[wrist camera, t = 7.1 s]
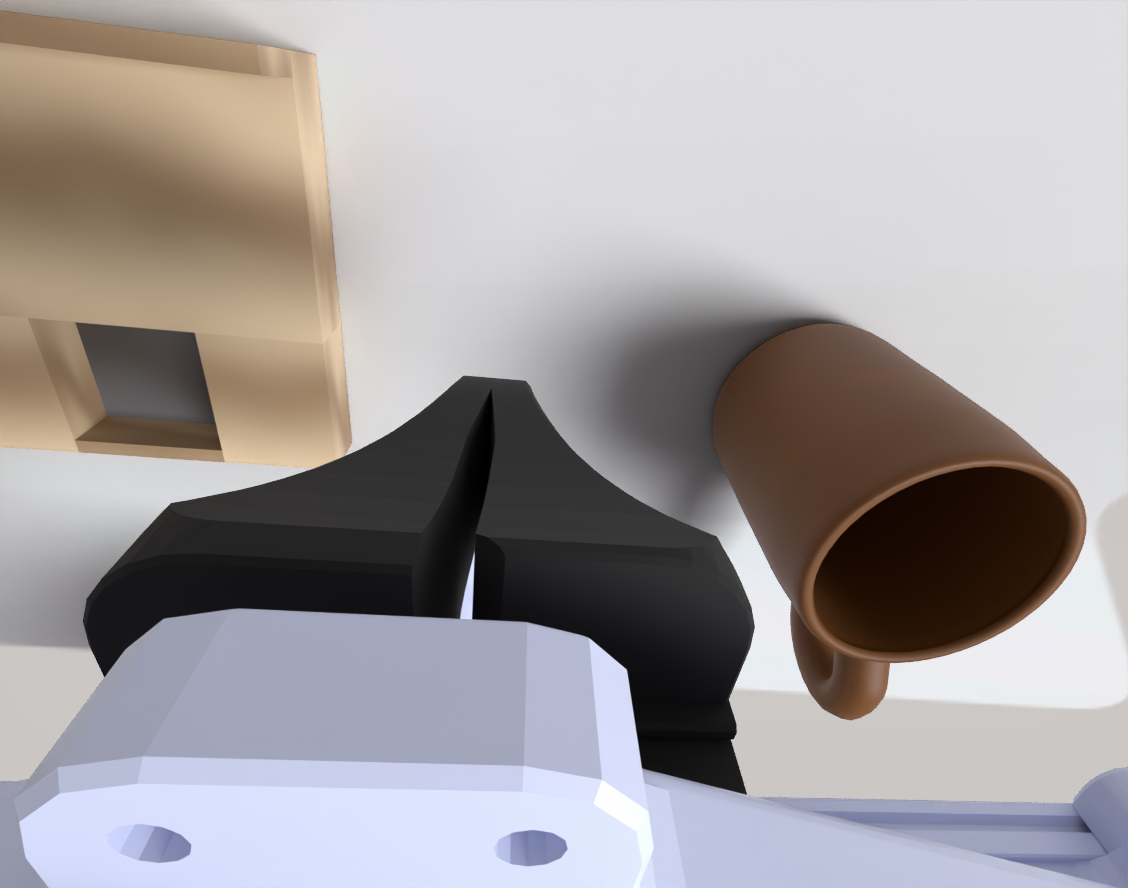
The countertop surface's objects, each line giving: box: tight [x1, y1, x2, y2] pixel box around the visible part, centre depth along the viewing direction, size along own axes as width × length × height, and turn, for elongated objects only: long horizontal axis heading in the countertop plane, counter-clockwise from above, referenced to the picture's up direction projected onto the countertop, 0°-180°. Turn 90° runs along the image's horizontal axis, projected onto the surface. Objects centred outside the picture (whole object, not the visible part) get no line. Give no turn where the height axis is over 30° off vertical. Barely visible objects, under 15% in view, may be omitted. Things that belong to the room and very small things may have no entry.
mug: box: [712, 323, 1086, 720], centre depth 20 cm, size 12×8×9 cm, turn 179°
